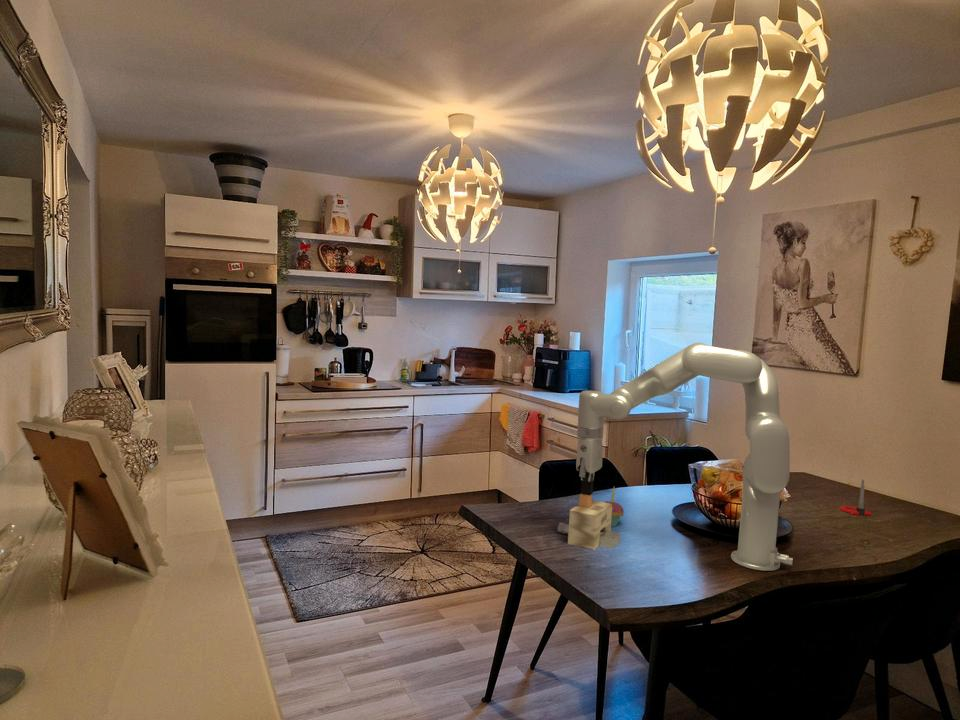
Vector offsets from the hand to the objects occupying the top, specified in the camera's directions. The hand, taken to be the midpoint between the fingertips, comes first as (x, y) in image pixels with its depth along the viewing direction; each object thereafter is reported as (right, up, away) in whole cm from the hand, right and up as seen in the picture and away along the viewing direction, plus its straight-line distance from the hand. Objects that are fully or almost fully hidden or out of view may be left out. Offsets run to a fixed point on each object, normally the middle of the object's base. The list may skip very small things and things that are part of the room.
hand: (586, 493), depth 187 cm
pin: (-1, -14, +1) cm, 14 cm away
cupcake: (+10, -13, +16) cm, 23 cm away
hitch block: (+1, -14, 0) cm, 14 cm away
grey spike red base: (+105, -16, +43) cm, 115 cm away
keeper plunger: (-1, -7, +1) cm, 7 cm away
